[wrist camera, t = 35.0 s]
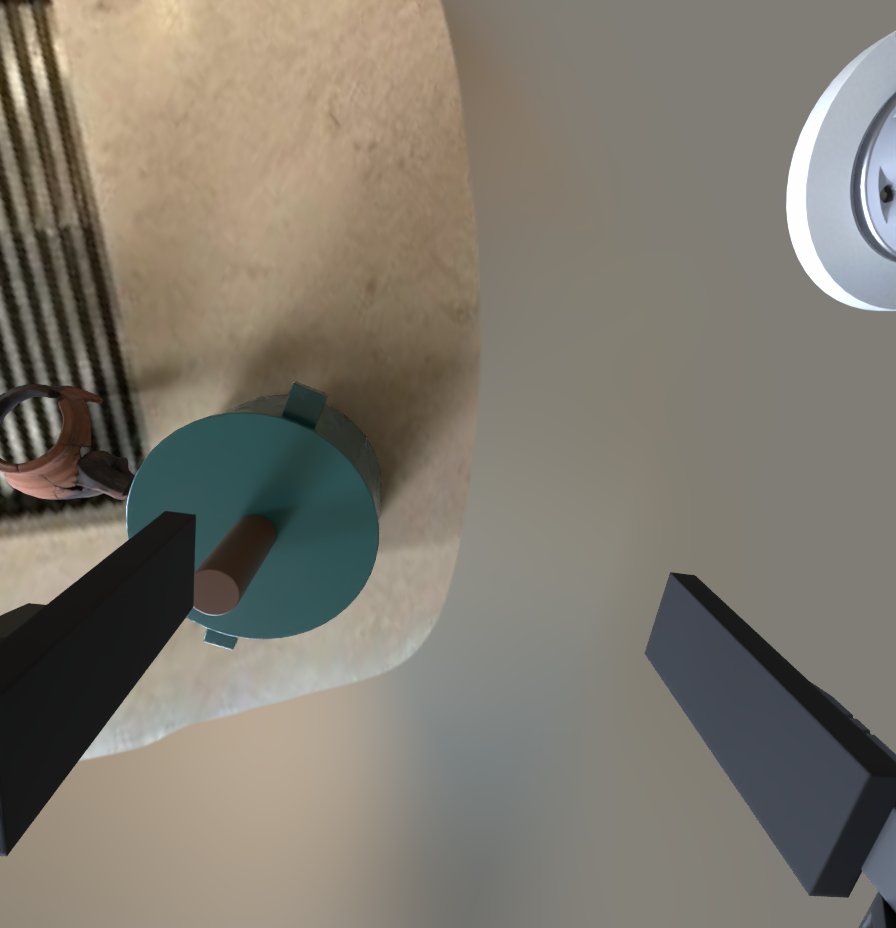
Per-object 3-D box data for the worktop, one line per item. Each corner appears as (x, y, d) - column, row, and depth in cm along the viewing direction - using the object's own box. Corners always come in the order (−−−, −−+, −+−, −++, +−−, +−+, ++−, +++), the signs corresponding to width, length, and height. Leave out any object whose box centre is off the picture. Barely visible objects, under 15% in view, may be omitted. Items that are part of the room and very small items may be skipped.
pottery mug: (23, 481, 45) (-66, 458, 37) (83, 392, 48) (11, 352, 40) (138, 537, 44) (71, 525, 36) (194, 443, 47) (142, 412, 39)
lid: (415, 465, 37) (416, 512, 28) (332, 658, 41) (310, 751, 32) (170, 369, 34) (86, 388, 25) (108, 588, 38) (17, 670, 29)
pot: (419, 409, 45) (421, 437, 35) (335, 609, 51) (316, 682, 41) (237, 335, 43) (183, 341, 33) (168, 554, 48) (104, 618, 38)
